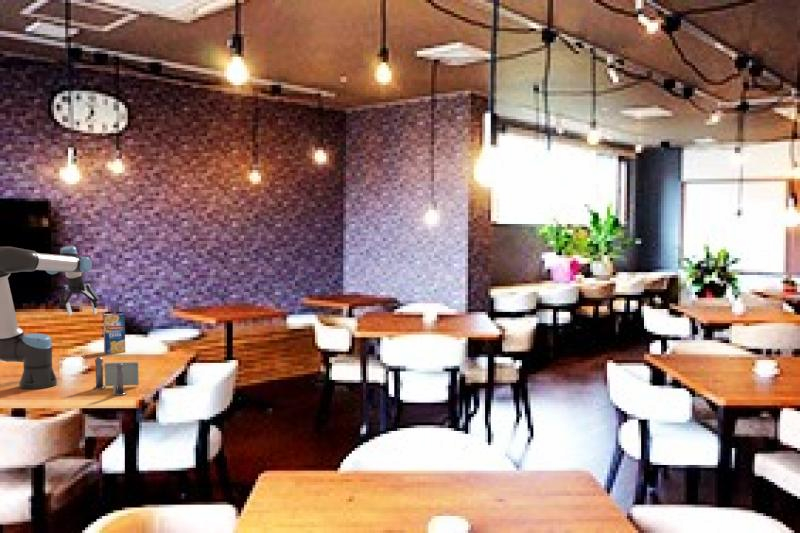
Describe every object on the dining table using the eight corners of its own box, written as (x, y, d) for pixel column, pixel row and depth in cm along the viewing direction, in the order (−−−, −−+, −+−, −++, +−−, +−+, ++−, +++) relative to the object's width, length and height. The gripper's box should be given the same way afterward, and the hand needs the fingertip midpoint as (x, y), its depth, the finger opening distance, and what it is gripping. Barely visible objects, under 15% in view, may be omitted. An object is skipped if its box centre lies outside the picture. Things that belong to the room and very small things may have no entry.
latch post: (111, 394, 305) (110, 363, 304) (122, 392, 309) (121, 361, 308) (118, 396, 301) (117, 364, 301) (129, 394, 305) (128, 362, 304)
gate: (105, 386, 316) (104, 363, 316) (106, 385, 318) (105, 362, 317) (137, 385, 319) (137, 362, 318) (138, 384, 320) (138, 361, 320)
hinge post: (91, 388, 316) (90, 357, 316) (102, 386, 320) (101, 355, 320) (96, 390, 313) (96, 358, 313) (107, 388, 317) (107, 357, 316)
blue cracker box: (103, 352, 411) (103, 314, 410) (124, 350, 416) (123, 313, 415) (105, 353, 405) (104, 315, 404) (125, 352, 410) (124, 314, 409)
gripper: (101, 272, 366) (109, 310, 373) (54, 274, 367) (63, 312, 374) (94, 277, 359) (103, 315, 365) (47, 279, 360) (56, 318, 367)
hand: (83, 314), depth 370 cm, fingers open, 13 cm apart
